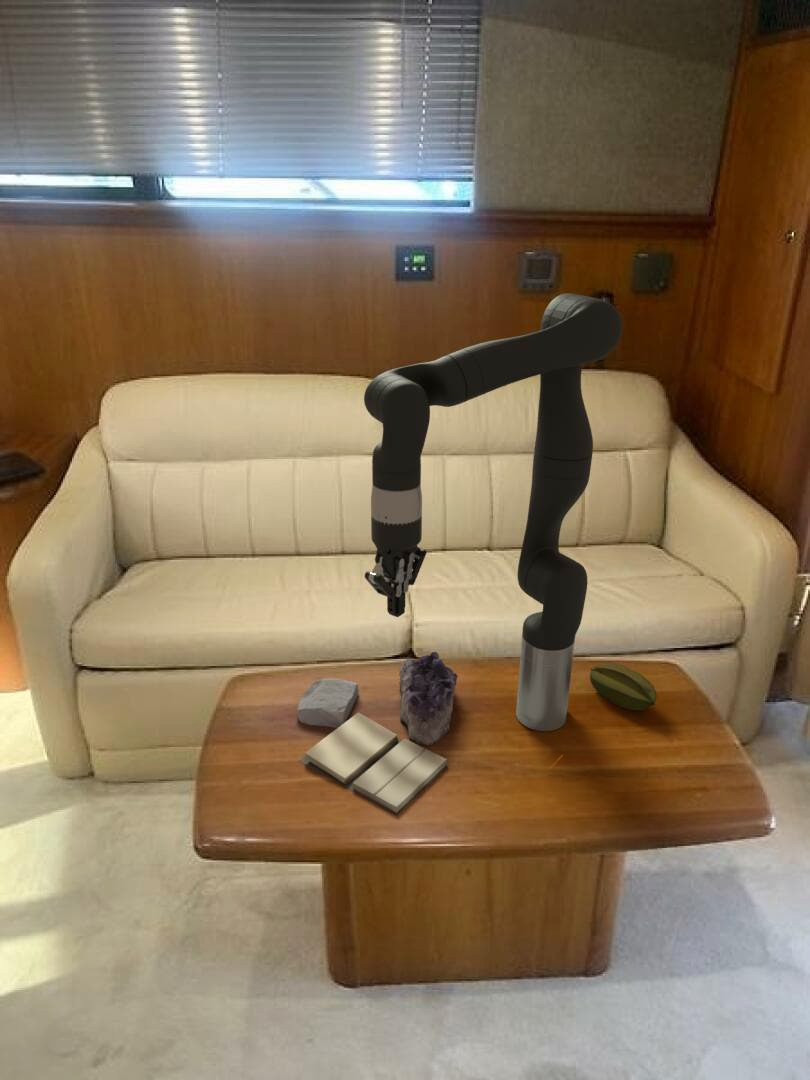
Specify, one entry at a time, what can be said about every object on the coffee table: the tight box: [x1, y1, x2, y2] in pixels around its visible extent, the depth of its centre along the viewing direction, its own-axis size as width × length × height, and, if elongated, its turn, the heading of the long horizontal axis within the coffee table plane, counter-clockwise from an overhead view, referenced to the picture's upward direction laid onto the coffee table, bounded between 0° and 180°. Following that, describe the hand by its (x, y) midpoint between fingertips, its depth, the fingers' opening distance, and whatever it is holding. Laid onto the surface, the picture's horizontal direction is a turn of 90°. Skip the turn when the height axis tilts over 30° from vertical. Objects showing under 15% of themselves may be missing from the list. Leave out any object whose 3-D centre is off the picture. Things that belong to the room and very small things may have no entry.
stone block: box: [296, 677, 359, 729], centre depth 148 cm, size 12×5×10 cm
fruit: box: [589, 663, 658, 711], centre depth 150 cm, size 11×12×7 cm
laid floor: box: [298, 738, 450, 817], centre depth 134 cm, size 15×21×2 cm
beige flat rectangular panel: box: [304, 712, 399, 784], centre depth 136 cm, size 14×9×1 cm, turn 143°
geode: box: [398, 651, 459, 747], centre depth 146 cm, size 20×12×10 cm, turn 0°
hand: (396, 613), depth 123 cm, fingers closed
